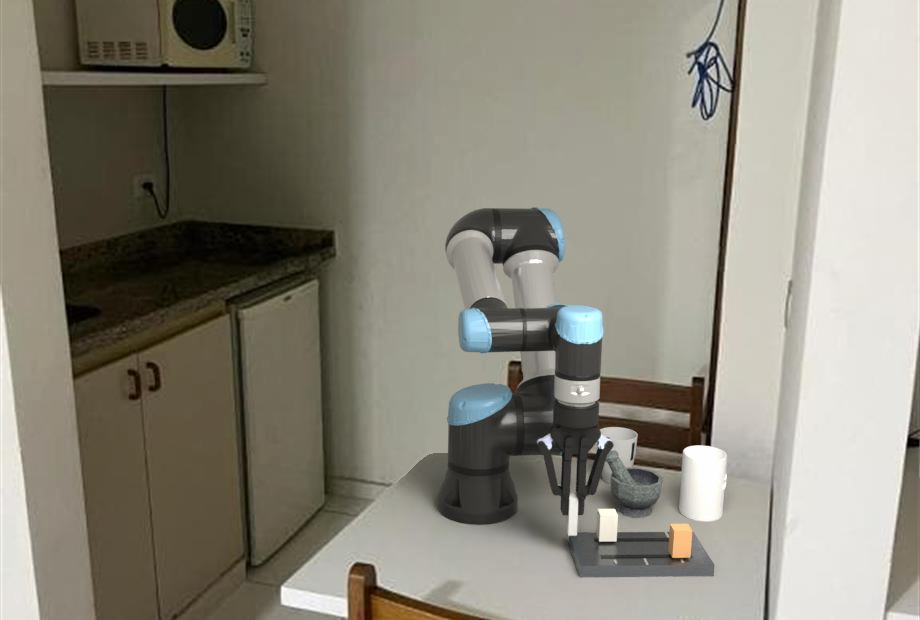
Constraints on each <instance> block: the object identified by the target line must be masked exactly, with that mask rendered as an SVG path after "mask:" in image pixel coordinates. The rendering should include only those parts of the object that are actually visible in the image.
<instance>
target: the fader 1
mask: <svg viewBox="0 0 920 620" xmlns="http://www.w3.org/2000/svg"><path fill="white" fill-rule="evenodd" d="M596 510H597V513H596V535H597V538H598V540H599V542H611V541H617V532H618V524H619V523H618V522H619V521H618V520H619V514H618V513H617V511H616V509H615V508H597V509H596Z"/></svg>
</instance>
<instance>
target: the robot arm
mask: <svg viewBox="0 0 920 620" xmlns="http://www.w3.org/2000/svg"><path fill="white" fill-rule="evenodd" d="M562 223H563V222H562V220H561V218H560V216H559V215H558V213H557V212H556V211H555V210H554V209H550V208H541V207H536V206H535V207H534V206H533V207H530V208H519V207H518V208H512V207H511V208H506V207H505V208H503V207H499V208H498V207H497V208H491V207H484V208H479V209H474V210H473V211H470V212H468V213H467V214H465V215H463V216H462V217H461V218H459V219H458V220H457V221H456V222H455V223H454V224H453V225H452V226H451V229H450V230H449V232H448V234H447V236H446V238H445V243H444V247H445V248H444V250H445V255H446V258H447V259H446V260H447V261H448V264H449V265H450V267H452V269H454V271H455V274H456V278H457V282H458V286H459V291H460V295H461V299H462V303H463V307H464V309H462V310H461V311H460V312H459V315H458V322H457V326H458V327H457V331H458V332H457V334H458V336H457V337H458V344H459V347H460V349H461V350H462V351H463V352H465V353H480V354H487V353H510V352H511V353H513V352H520V361H521V368H522V369H521V370H522V376H523V379H522V380H521V381H520V382H519V384H518V385H517V387H516V393H513V392H512V390H511V388H510V387H509V386H507V385H505V384H501V383H497V384H496V383H494V382H493V383H489V382H488V383H479V384H478V383H477V384H474V385H469V386H466V387H463V388H461V389H460V390H458V391H456V392H454V394H453V395H452V396H451V397H450V398H449V401H448V412H447V417H446V423H448V424H447V425H448V428H447V429H448V431H447V433H448V435H447V436H448V437H447V438H448V439H447V470H446V473H445V476H444V479H443V481H442V484H441V487H440V489H439V492H438V496H437V497H438V499H437V505H438V507H437V509H438V511H439V512H440V513H441V515H443V516H444V517H446V518H448V519H450V520H452V521H455V522H459V523H465V524H471V525H485V524H486V525H487V524H494V523H496V524H497V523H499V522H503V521H506V520H508V519H510V518H512V517H513V516H515V514H516V513H517V512H518V508H519V507H518V506H519V503H518V501H519V498H518V493H517V490H516V486H515V482H514V481H513V477H512V474H511V471H510V458H511V457H515V456H519V457H521V456H543V459H544V465H545V468H546V473H547V478H548V483H549V487H550V490H551V493H552V496H553V495H554V496H558V497H560V512H561V514H562V516H565V517H566V518H565V519H566V520H565V521H566V522H565V530H566V534H567V535H568V537H569V536H573V535H577V533H578V520H579V519H578V517H579V516H584V513H585V500H586V499H587V497H588V496H594V495H596V493H597V489H598V488H599V483H600V480H601V477H602V470H603V467H604V464H605V460H606V457H607V455H608V453H609V452H610V451H611V449H612V448H613V446H614V444H613V442H612V441H611V439H610V438H609V437H605V436H603V435H602V434H601V431H600V429H601V428H600V427H599V426H600V425H599V422H600V421H599V420H600V419H599V418H600V415H599V414H600V403H599V402H598V401H599V399H600V393H601V392H600V391H601V372H602V371H601V369H602V350H603V335H604V333H605V332H604V330H605V329H604V327H603V326H604V325H603V319H604V318H603V313H602V311H601V310H599V309H598V308H596V307H591V306H587V305H579V304H578V305H576V304H575V305H568V304H565V303H561V302H560V303H559V302H558V299H557V298H558V297H557V291H556V284H555V278H554V277H555V276H554V273H555V272H556V271H557V270H558V268H559V266H560V263H561V262H562V261H563V260H564V258H565V254H566V253H565V251H566V242H565V239H566V237H565V230H564V226H563V224H562ZM494 264H498V265H499V264H502V270H503V273H504V275H505V276H507V277H508V278H509V279H511V283H512V291H513V299H514V301H513V302H514V307H513V308H511V307H510V308H509V306H508V304H507V301H506V297H505V294H504V291H503V289H502V286H501V283H500V279H499V277H498V276H499V275H498V274H497V270H496V267H495V265H494ZM597 441H598V443H597ZM595 445H598V448H597V449H596V453H595V456H594V459H593V463H592V466H591V470H590V473H589V475H588V480H587V464H588V463H587V461H588V453H589V452H590V451H591V450H592V448H593V447H594V446H595ZM553 455H558V456H561V471H560V472H561V474H560V475H561V476H560V485H559V483H558V479H557V475H556V471H555V466H554V461H553ZM573 455H576V474H575V475H576V476H575V477H576V479H575V481H576V482H575V491H576V492H571V481H572V480H571V479H572V478H571V476H572V475H571V474H572V460H573ZM586 482H587V483H586Z"/></svg>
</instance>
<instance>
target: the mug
mask: <svg viewBox="0 0 920 620" xmlns="http://www.w3.org/2000/svg"><path fill="white" fill-rule="evenodd" d="M681 458H682V461H681V474H680V475H681V476H680V491H679V507H678V511H679V513H680V515H682V516H684V517H685V518H686V519H690V520H691V521H697V522H707V523H708V522H709V523H710V522H716V521H719V520H720V519H721V518H722V516H723V513H724V499H725V489H726V488H727V480H728V479H727V478H728V475H727V463H728V454H727V453H726V452H725V451H724V450H722V449H720V448H718V447H715V446H710V445H699V444H698V445H690V446H687V447H685V448H684V449H683V450H682V457H681Z"/></svg>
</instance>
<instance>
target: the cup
mask: <svg viewBox="0 0 920 620" xmlns="http://www.w3.org/2000/svg"><path fill="white" fill-rule="evenodd" d="M599 429H600V431H601V434H602V435H603V436H605V437H609V438H610V439H611V441H612V442H613V444H614V446H613V448H612V449H611V451H617V452H618V454H619V456H618V457H619V458H620V460H621V461H622V463H623V464H624V466H625V468H634V463H635V462H634V461H635V458H636V454H637V453H636V452H637V445H638V444H637V443H638V436H639V435H638V433H637V432H636V431H634V430H633V429H630V428H626V427H622V426H621V427H620V426H609V427H603V428H599ZM597 443H598V441H597V442H596V445H597ZM597 449H598V445H597ZM611 475H612V471H611V468H610V466H609V464H608V462H606V461H605V464H604V467H603V470H602V474H601V477H602V480H603V482H605V483H607V484H610V481H611Z"/></svg>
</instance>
